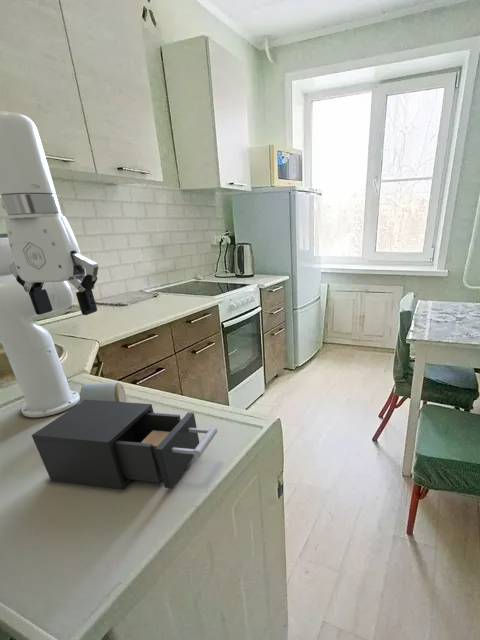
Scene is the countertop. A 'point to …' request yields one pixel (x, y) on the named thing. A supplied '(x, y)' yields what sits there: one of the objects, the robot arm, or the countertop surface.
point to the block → (155, 439)
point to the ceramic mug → (103, 392)
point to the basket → (160, 447)
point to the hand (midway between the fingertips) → (67, 313)
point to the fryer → (88, 442)
